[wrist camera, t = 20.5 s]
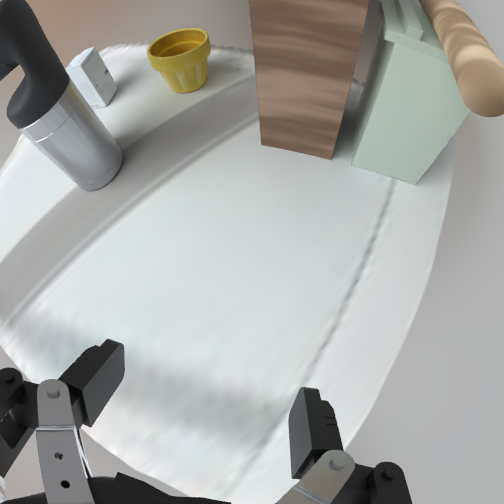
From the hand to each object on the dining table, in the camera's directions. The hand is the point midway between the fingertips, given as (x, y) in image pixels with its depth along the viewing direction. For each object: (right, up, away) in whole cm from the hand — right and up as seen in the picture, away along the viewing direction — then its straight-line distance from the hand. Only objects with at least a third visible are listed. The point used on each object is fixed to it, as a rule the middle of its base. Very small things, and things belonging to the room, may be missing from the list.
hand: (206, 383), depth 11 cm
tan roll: (+20, +25, +4) cm, 33 cm away
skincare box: (-28, +37, +35) cm, 58 cm away
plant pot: (-9, +37, +33) cm, 50 cm away
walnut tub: (+10, +25, +28) cm, 39 cm away
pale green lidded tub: (+22, +22, +26) cm, 41 cm away
